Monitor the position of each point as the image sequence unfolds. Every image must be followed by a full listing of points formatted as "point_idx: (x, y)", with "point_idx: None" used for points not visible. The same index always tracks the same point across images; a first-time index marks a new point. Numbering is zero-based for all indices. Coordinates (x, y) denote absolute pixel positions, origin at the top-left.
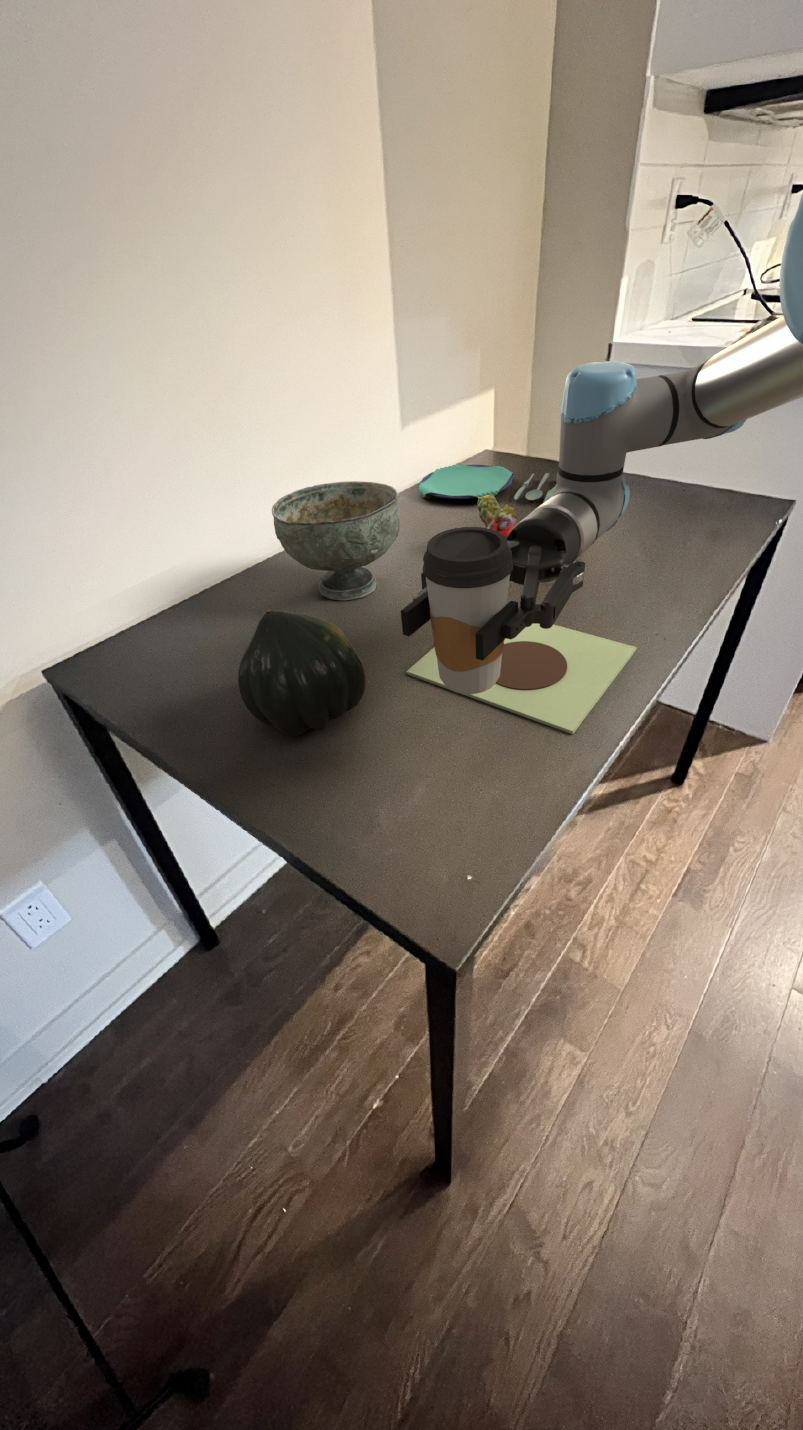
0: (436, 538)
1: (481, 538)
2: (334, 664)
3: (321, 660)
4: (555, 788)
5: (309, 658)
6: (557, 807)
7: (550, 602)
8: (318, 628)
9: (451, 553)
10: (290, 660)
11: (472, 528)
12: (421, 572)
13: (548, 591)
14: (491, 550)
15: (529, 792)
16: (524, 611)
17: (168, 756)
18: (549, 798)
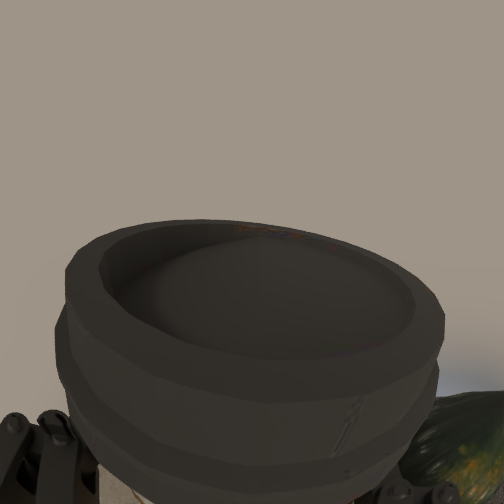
0: (398, 273)
1: (229, 330)
2: (424, 452)
3: (433, 435)
4: (102, 494)
5: (442, 425)
6: (99, 472)
7: (8, 424)
8: (479, 440)
9: (281, 247)
10: (447, 408)
11: (361, 362)
12: (454, 485)
13: (3, 478)
14: (148, 304)
15: (128, 488)
16: (73, 426)
17: (439, 398)
18: (107, 482)
